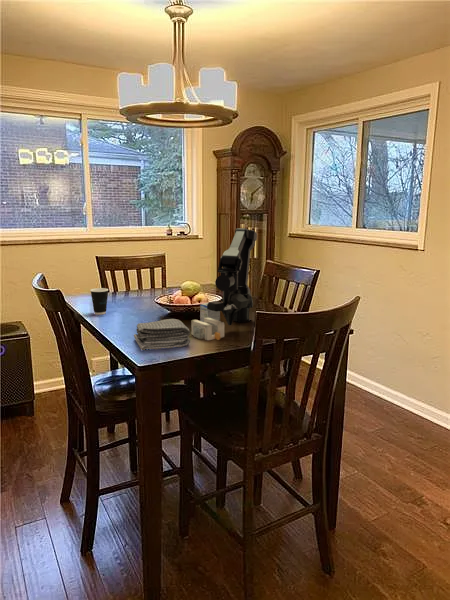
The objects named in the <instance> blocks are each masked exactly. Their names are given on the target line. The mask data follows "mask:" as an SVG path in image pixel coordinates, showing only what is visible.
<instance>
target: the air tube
mask: <svg viewBox="0 0 450 600" xmlns="http://www.w3.org/2000/svg"><path fill="white" fill-rule="evenodd" d="M210 324H211V325H212V335H214V334H215V332H218V325H216V324H213V323H210ZM193 337H194V338H195V337H196V339H199V340H202V339H205V327H202V326H199V325H198V326H194V335H193Z"/></svg>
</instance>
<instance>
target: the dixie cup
mask: <svg viewBox="0 0 450 600" xmlns="http://www.w3.org/2000/svg"><path fill="white" fill-rule="evenodd" d="M89 291H90V295H91V302H92V308H93V312H94V315H99V316H101V315H102V316H103V315H106V312H107V305H108V291H109V288H105V287H101V288H100V287H97V288H91V289H89Z"/></svg>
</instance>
